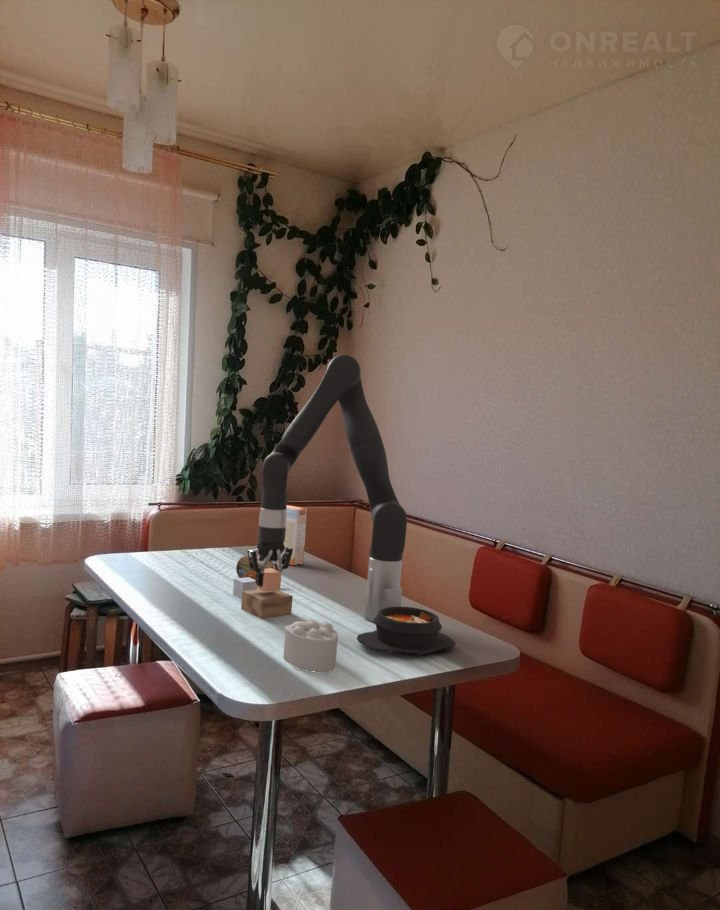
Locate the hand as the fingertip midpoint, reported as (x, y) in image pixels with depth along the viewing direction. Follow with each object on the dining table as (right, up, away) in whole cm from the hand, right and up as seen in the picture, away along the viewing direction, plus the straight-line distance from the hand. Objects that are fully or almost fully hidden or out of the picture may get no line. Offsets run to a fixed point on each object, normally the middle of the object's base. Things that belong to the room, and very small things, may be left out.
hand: (268, 584), depth 197 cm
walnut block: (-1, -7, 0) cm, 7 cm away
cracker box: (-3, -4, +65) cm, 65 cm away
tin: (-8, -5, +31) cm, 33 cm away
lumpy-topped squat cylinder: (+15, -11, -37) cm, 41 cm away
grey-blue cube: (-9, -6, +14) cm, 18 cm away
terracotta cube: (0, -1, 0) cm, 1 cm away
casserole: (+37, -12, -21) cm, 44 cm away
